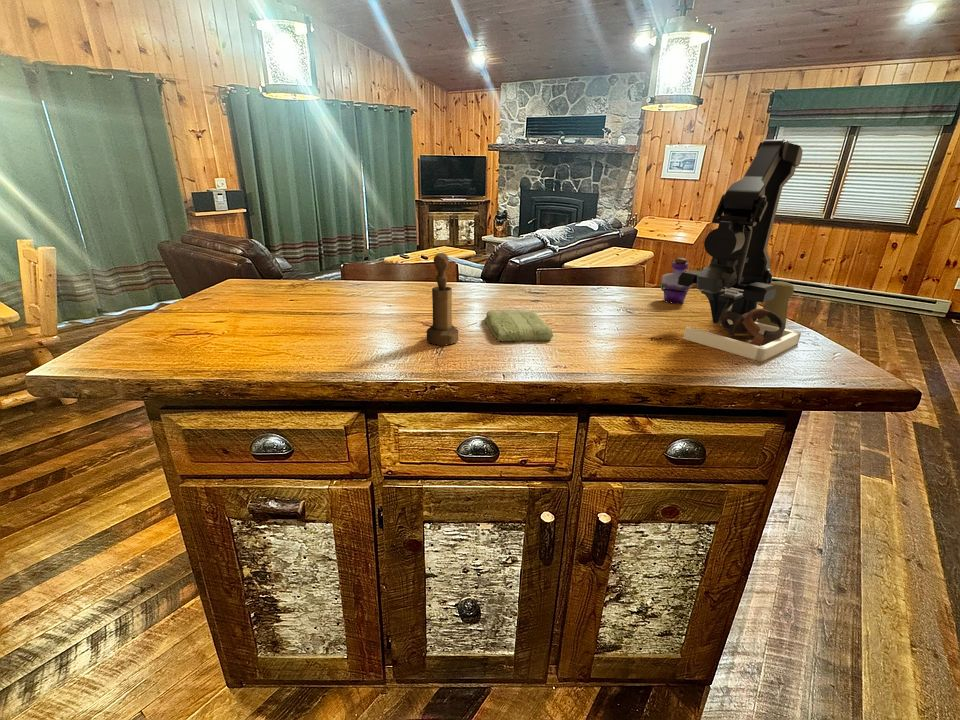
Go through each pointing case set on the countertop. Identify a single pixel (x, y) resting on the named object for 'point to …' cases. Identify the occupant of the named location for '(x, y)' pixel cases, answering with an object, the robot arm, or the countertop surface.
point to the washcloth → (518, 326)
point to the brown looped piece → (753, 325)
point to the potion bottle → (675, 283)
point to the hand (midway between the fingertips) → (715, 323)
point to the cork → (778, 302)
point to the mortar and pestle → (442, 307)
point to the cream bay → (745, 348)
